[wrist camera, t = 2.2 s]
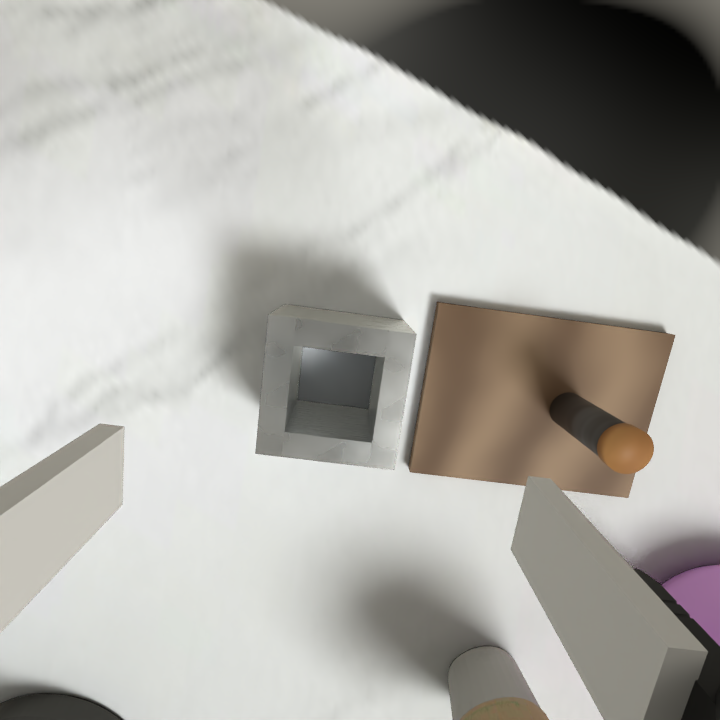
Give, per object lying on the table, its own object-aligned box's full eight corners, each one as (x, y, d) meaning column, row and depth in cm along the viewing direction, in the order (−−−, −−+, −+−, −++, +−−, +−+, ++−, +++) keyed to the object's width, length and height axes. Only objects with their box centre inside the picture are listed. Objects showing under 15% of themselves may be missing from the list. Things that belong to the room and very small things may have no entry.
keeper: (408, 467, 32) (426, 530, 24) (436, 301, 29) (466, 315, 22) (621, 492, 33) (703, 561, 25) (666, 333, 30) (773, 356, 23)
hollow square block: (273, 417, 31) (255, 453, 25) (284, 304, 29) (268, 314, 23) (386, 431, 31) (394, 470, 26) (403, 320, 30) (416, 334, 24)
